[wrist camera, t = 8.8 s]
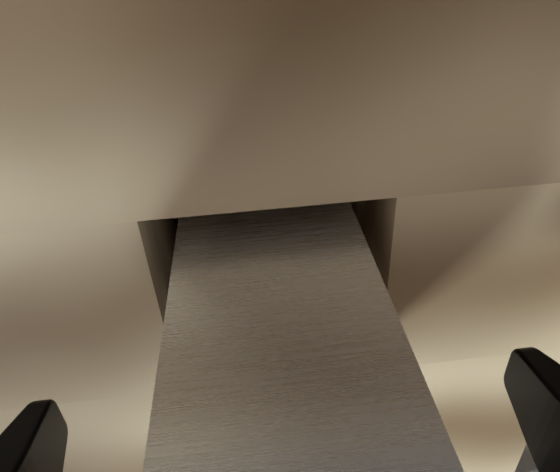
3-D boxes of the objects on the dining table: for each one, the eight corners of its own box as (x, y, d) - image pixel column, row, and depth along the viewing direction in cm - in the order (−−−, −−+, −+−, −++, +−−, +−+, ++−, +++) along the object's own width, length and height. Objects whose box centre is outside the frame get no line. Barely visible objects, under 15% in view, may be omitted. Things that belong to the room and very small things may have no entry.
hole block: (460, 409, 22) (502, 500, 18) (94, 451, 21) (70, 554, 17) (653, -323, 9) (900, -451, 6) (-252, -291, 8) (-570, -419, 5)
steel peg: (327, 260, 16) (435, 631, 8) (206, 272, 16) (188, 666, 8) (327, 149, 14) (479, 508, 6) (186, 161, 14) (130, 552, 5)
